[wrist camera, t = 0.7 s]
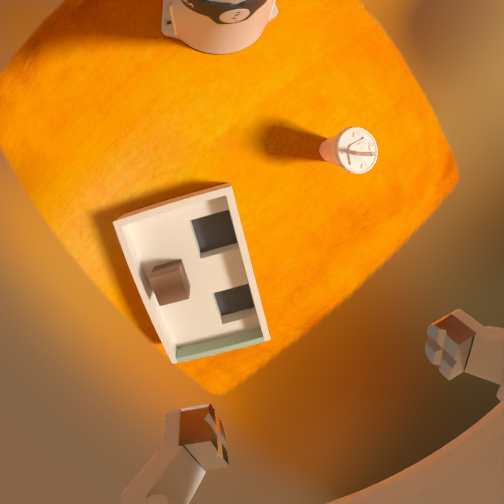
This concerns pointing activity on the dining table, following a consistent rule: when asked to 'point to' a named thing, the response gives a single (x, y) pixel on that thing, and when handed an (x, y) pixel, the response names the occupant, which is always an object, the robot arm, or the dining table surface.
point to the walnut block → (170, 282)
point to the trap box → (196, 272)
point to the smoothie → (351, 150)
